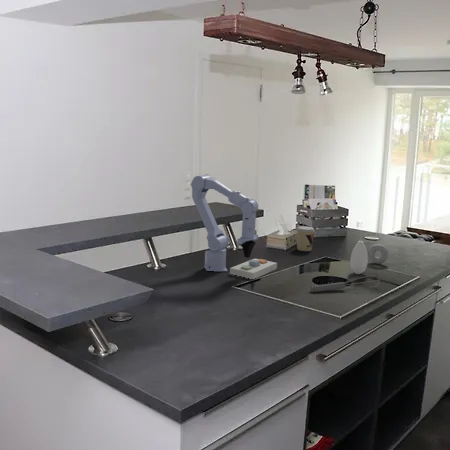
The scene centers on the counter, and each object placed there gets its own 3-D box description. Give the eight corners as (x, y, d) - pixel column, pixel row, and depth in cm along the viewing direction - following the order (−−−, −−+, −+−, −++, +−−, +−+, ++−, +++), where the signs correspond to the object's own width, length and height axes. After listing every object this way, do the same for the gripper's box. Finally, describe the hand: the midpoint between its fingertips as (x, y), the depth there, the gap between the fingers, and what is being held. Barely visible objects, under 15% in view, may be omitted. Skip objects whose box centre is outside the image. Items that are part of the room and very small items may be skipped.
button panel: (253, 279, 236) (253, 273, 235) (229, 274, 242) (230, 268, 242) (276, 269, 254) (277, 262, 253) (254, 264, 260) (254, 258, 260)
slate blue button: (255, 269, 245) (255, 262, 245) (248, 267, 247) (248, 261, 246) (259, 267, 248) (259, 261, 248) (252, 265, 250) (252, 259, 249)
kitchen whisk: (303, 290, 224) (304, 275, 223) (373, 286, 235) (375, 272, 234) (310, 295, 219) (311, 280, 217) (382, 290, 229) (383, 276, 228)
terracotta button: (262, 267, 251) (263, 261, 251) (256, 266, 253) (256, 260, 252) (266, 266, 254) (267, 260, 254) (260, 265, 256) (260, 258, 255)
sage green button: (247, 274, 240) (247, 268, 239) (240, 273, 242) (240, 266, 241) (251, 272, 243) (251, 266, 242) (244, 271, 244) (245, 264, 244)
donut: (366, 263, 271) (368, 243, 269) (367, 261, 274) (369, 242, 272) (386, 266, 267) (388, 246, 265) (388, 264, 270) (390, 244, 268)
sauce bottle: (366, 276, 247) (370, 238, 243) (349, 275, 248) (352, 236, 245) (366, 272, 254) (369, 234, 251) (349, 270, 256) (352, 233, 252)
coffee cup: (307, 252, 288) (309, 230, 286) (292, 249, 294) (293, 227, 291) (316, 249, 295) (317, 227, 293) (301, 246, 301) (302, 225, 299)
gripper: (247, 231, 231) (246, 262, 234) (264, 226, 243) (263, 255, 246) (233, 228, 235) (232, 259, 238) (251, 224, 247) (249, 253, 249)
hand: (247, 257), depth 242 cm, fingers closed
